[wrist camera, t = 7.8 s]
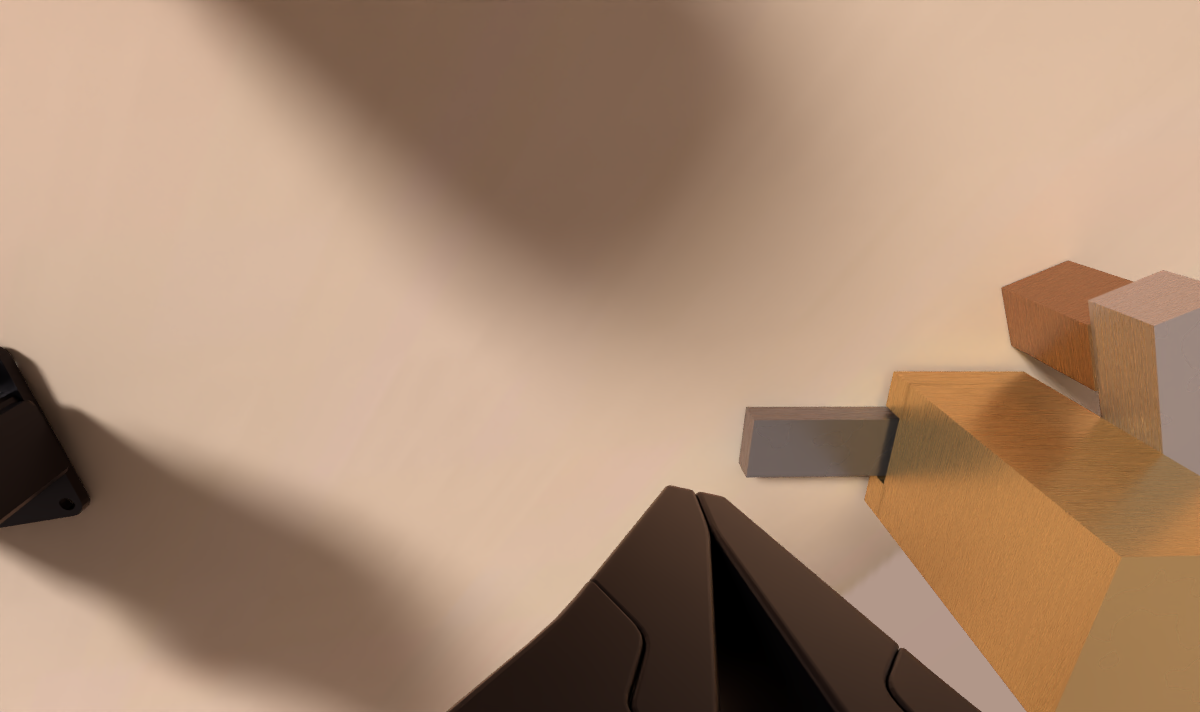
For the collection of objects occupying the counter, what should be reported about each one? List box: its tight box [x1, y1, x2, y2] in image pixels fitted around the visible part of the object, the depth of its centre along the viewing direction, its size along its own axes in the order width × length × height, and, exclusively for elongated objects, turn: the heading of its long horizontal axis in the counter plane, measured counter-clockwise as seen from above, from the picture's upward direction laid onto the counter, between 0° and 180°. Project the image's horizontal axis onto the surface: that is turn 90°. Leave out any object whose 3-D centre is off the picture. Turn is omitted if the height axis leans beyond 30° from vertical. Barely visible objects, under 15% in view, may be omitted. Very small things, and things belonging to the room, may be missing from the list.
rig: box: [739, 261, 1200, 477], centre depth 20 cm, size 13×9×6 cm, turn 88°
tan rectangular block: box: [864, 372, 1200, 712], centre depth 20 cm, size 5×6×10 cm
